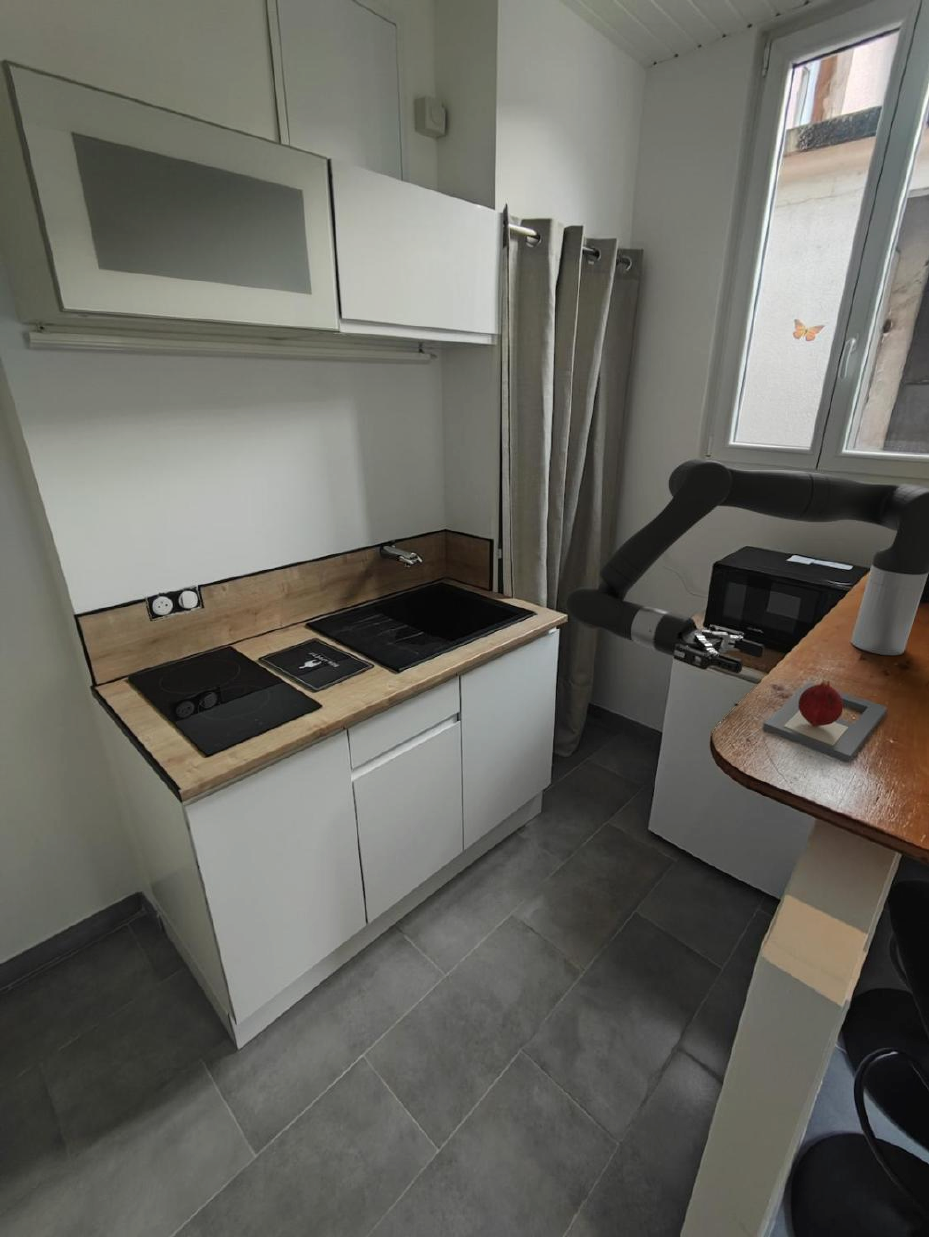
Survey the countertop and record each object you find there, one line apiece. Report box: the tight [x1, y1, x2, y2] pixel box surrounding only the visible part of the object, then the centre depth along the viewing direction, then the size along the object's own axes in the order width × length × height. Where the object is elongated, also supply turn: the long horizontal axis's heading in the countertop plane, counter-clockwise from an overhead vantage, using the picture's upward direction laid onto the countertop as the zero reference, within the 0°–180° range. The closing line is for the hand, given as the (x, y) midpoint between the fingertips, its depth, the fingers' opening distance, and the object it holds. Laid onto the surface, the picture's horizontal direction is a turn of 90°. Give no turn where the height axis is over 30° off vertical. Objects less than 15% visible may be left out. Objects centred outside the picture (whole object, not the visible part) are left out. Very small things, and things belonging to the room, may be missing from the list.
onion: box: [799, 678, 844, 727], centre depth 87 cm, size 6×6×8 cm
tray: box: [762, 681, 889, 764], centre depth 92 cm, size 20×12×1 cm, turn 133°
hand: (752, 659), depth 93 cm, fingers open, 8 cm apart
